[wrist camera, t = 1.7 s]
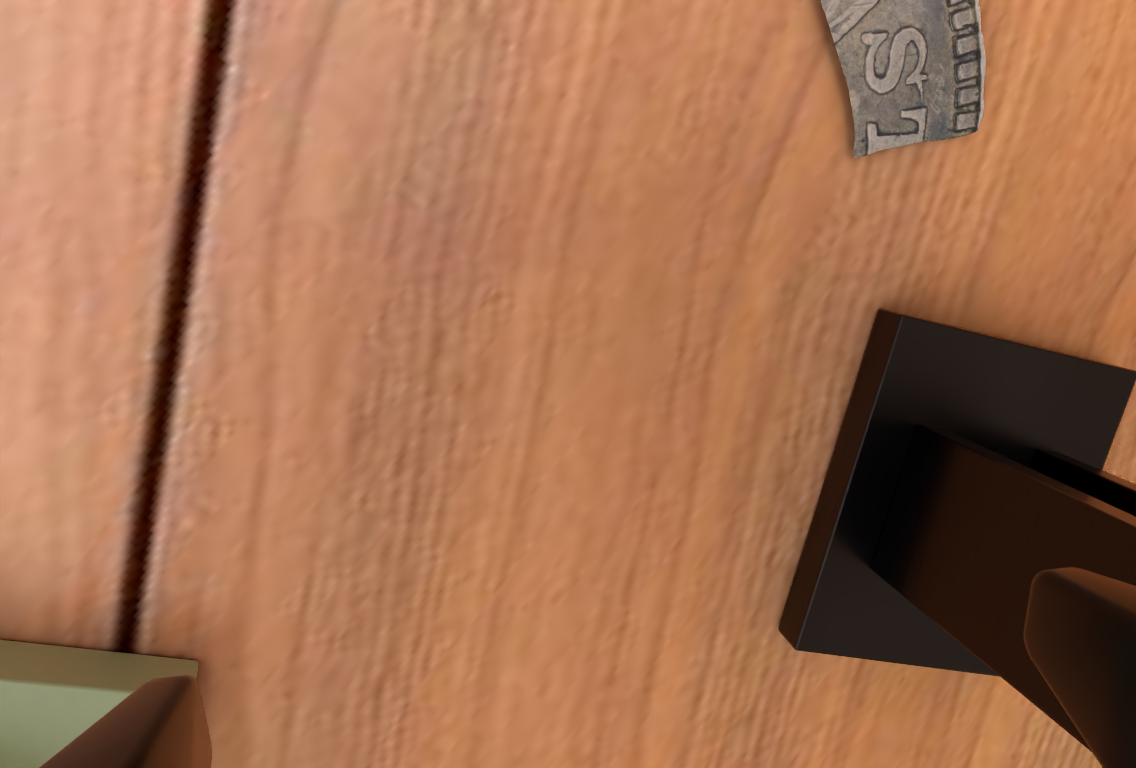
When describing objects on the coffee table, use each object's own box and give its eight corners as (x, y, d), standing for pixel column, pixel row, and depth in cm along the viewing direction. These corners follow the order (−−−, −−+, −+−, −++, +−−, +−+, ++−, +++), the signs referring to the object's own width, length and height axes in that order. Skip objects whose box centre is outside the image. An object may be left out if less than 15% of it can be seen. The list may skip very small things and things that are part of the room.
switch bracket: (998, 660, 28) (1306, 907, 18) (777, 629, 26) (995, 889, 16) (1106, 363, 26) (1513, 470, 16) (877, 307, 24) (1189, 391, 14)
